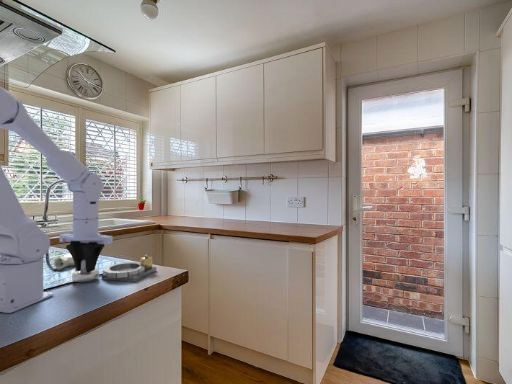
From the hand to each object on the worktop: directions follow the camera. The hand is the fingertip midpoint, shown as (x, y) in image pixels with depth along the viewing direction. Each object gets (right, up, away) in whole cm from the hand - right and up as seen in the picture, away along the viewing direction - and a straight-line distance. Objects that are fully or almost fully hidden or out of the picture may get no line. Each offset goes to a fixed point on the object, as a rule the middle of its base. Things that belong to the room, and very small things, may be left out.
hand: (85, 270), depth 73 cm
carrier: (+9, -3, +5) cm, 11 cm away
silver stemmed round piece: (0, -2, 0) cm, 2 cm away
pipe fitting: (-12, -3, +14) cm, 19 cm away
